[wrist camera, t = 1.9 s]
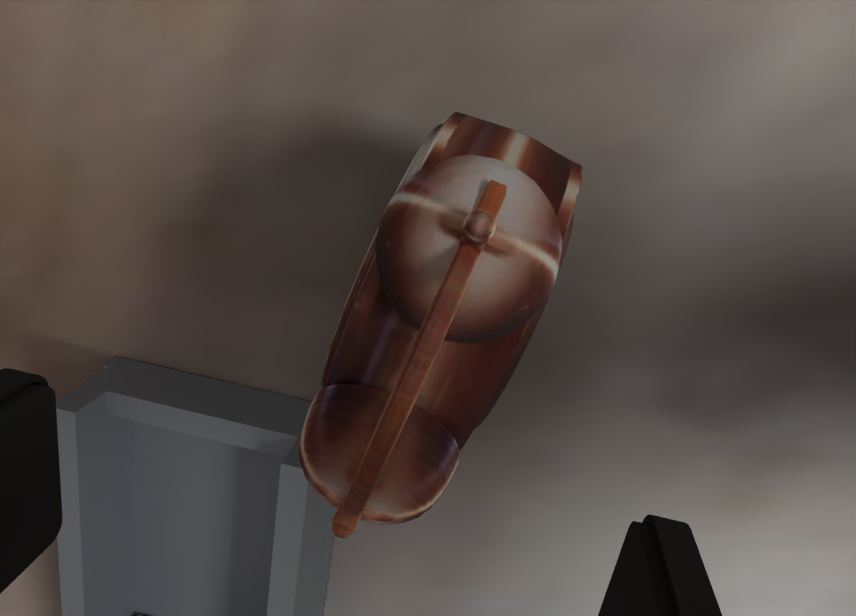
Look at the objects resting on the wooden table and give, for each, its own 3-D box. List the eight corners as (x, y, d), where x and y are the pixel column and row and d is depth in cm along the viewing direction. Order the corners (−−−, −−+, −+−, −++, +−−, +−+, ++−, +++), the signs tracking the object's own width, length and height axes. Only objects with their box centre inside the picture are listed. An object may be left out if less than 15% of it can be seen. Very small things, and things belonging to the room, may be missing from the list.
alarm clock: (468, 95, 24) (373, 119, 10) (583, 146, 24) (642, 239, 10) (371, 331, 28) (210, 575, 14) (469, 376, 28) (402, 663, 14)
